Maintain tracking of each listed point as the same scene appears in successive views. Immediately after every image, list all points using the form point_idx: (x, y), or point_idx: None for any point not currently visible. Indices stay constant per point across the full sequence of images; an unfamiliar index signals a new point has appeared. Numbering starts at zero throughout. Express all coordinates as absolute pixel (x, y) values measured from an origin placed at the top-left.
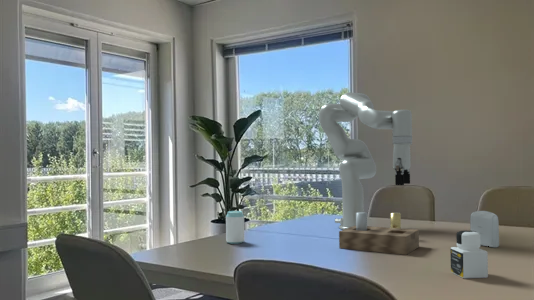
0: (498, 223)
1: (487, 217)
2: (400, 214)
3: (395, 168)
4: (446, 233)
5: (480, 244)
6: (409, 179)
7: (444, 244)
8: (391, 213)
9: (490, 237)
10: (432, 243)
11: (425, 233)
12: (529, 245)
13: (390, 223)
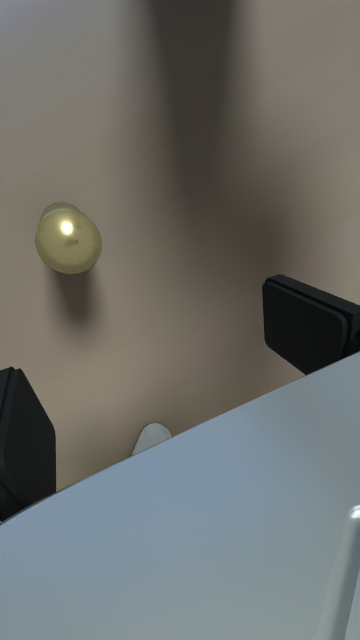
0: None
1: None
2: (78, 271)
3: (195, 443)
4: (259, 305)
5: (133, 452)
6: (296, 359)
7: (84, 395)
8: (37, 231)
9: None
10: (72, 367)
11: (231, 257)
12: None
13: (45, 213)
